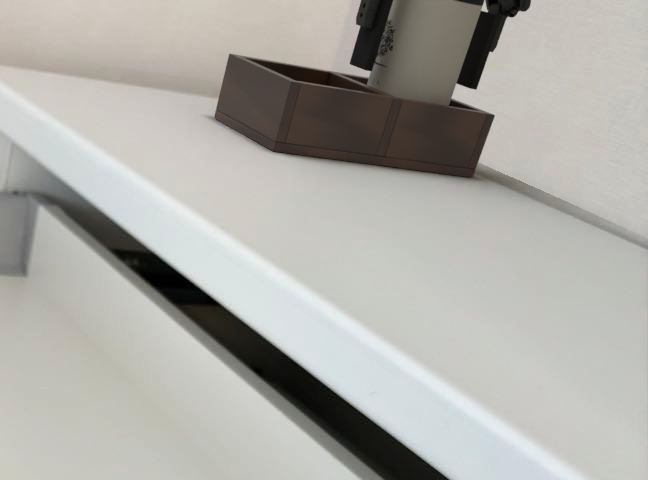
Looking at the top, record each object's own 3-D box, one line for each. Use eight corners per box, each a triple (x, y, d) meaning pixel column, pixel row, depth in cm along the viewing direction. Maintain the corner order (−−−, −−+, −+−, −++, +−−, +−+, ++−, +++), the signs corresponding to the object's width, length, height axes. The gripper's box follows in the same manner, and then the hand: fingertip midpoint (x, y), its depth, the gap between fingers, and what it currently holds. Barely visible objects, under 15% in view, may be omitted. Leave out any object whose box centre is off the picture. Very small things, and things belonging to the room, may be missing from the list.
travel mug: (431, 147, 109) (499, -54, 100) (433, 160, 103) (506, -54, 94) (353, 128, 110) (414, -73, 101) (350, 139, 103) (414, -75, 94)
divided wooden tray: (402, 145, 114) (421, 86, 111) (472, 177, 105) (495, 115, 102) (213, 118, 105) (228, 53, 102) (272, 151, 96) (291, 81, 93)
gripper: (574, -164, 100) (486, 85, 111) (360, -231, 90) (287, 50, 101) (633, -160, 95) (535, 102, 105) (412, -231, 85) (329, 67, 96)
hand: (413, 77), depth 103 cm, fingers open, 12 cm apart
